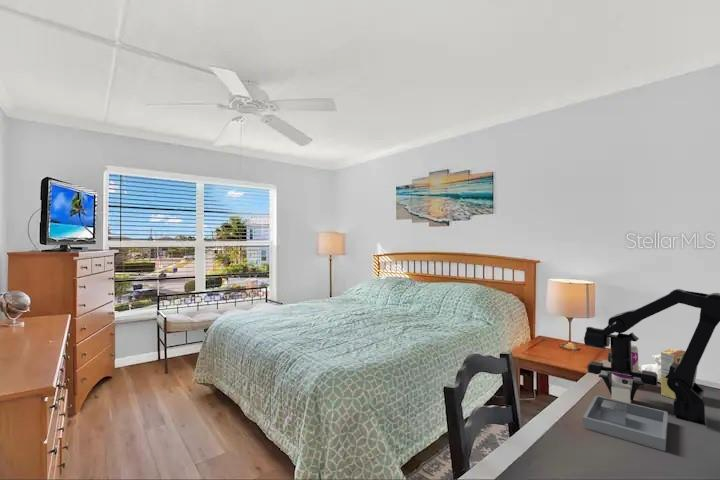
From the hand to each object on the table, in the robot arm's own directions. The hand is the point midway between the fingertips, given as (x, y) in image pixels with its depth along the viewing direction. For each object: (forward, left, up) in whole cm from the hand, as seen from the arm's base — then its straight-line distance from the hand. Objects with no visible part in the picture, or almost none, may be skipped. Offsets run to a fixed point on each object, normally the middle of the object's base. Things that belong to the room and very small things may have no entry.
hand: (621, 398), depth 121 cm
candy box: (-13, -18, -1) cm, 22 cm away
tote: (-3, +20, -1) cm, 20 cm away
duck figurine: (-9, -31, -1) cm, 32 cm away
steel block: (0, +18, 0) cm, 18 cm away
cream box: (0, 0, -1) cm, 1 cm away
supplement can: (+1, -20, -1) cm, 20 cm away
